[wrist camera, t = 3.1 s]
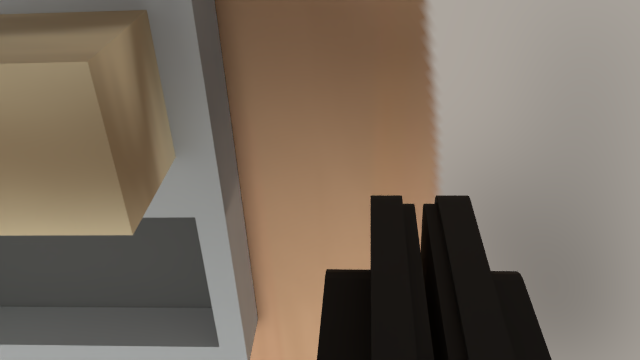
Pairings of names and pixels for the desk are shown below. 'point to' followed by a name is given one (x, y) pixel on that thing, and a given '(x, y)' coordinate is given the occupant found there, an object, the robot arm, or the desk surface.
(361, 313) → the robot arm
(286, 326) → the desk surface
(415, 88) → the desk surface
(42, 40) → the maple block
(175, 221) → the board
